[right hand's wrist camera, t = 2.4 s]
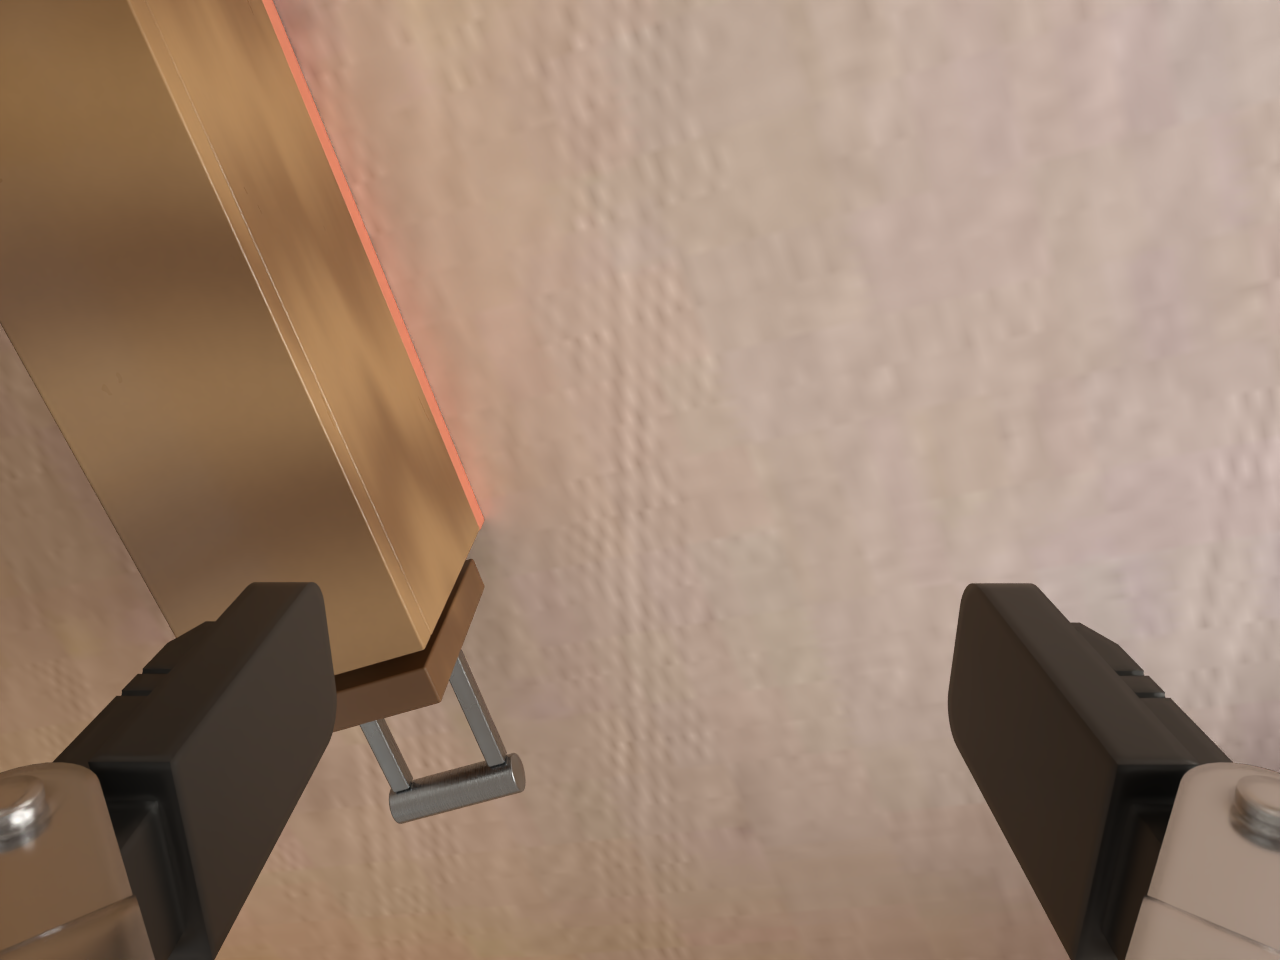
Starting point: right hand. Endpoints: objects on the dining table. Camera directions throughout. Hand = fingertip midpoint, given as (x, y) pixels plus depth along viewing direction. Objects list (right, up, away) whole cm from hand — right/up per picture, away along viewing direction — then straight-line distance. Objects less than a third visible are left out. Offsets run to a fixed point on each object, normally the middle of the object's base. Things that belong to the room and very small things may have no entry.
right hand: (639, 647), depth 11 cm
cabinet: (-12, +10, +17) cm, 23 cm away
